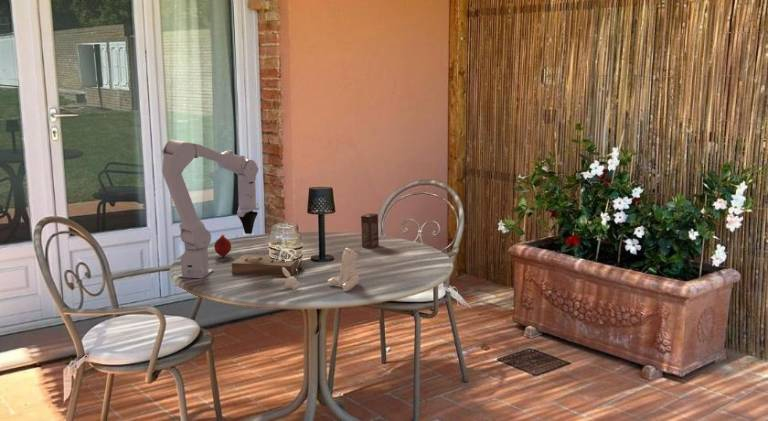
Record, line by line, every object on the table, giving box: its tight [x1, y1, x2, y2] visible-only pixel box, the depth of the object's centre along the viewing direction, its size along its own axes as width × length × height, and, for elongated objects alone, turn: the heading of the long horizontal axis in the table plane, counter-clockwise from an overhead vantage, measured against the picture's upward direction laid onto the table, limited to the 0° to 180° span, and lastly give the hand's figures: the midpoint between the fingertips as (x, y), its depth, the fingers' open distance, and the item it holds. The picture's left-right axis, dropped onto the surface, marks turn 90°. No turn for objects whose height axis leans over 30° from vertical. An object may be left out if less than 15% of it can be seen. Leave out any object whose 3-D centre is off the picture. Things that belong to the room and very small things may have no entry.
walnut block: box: [231, 254, 298, 277], centre depth 259 cm, size 11×20×4 cm, turn 79°
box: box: [360, 213, 380, 249], centre depth 290 cm, size 6×4×12 cm
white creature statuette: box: [327, 247, 360, 292], centre depth 241 cm, size 10×9×12 cm
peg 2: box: [273, 259, 285, 263], centre depth 258 cm, size 4×4×3 cm
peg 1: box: [247, 257, 260, 262], centre depth 259 cm, size 4×4×3 cm
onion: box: [214, 234, 232, 258], centre depth 275 cm, size 6×6×8 cm
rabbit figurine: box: [271, 267, 300, 290], centre depth 240 cm, size 6×4×8 cm
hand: (248, 233), depth 266 cm, fingers closed
